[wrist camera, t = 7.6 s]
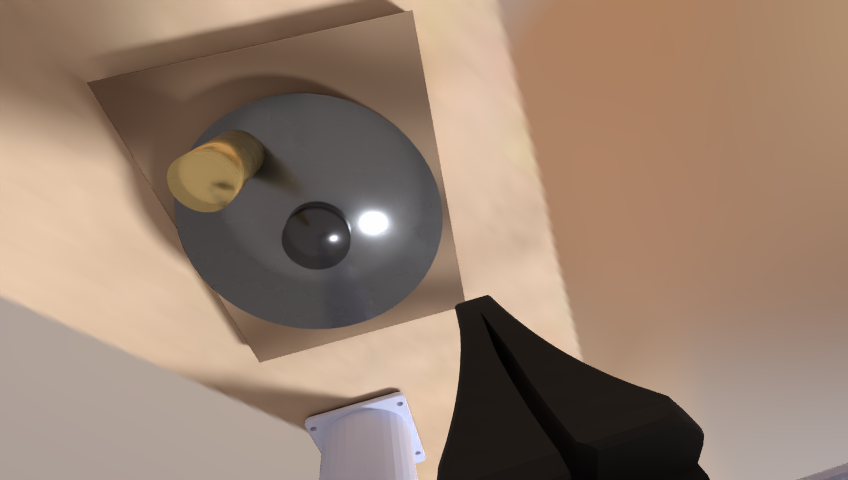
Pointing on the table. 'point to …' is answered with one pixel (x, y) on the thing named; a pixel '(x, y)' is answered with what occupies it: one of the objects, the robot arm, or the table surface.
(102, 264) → the table surface
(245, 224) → the handwheel
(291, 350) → the base board
